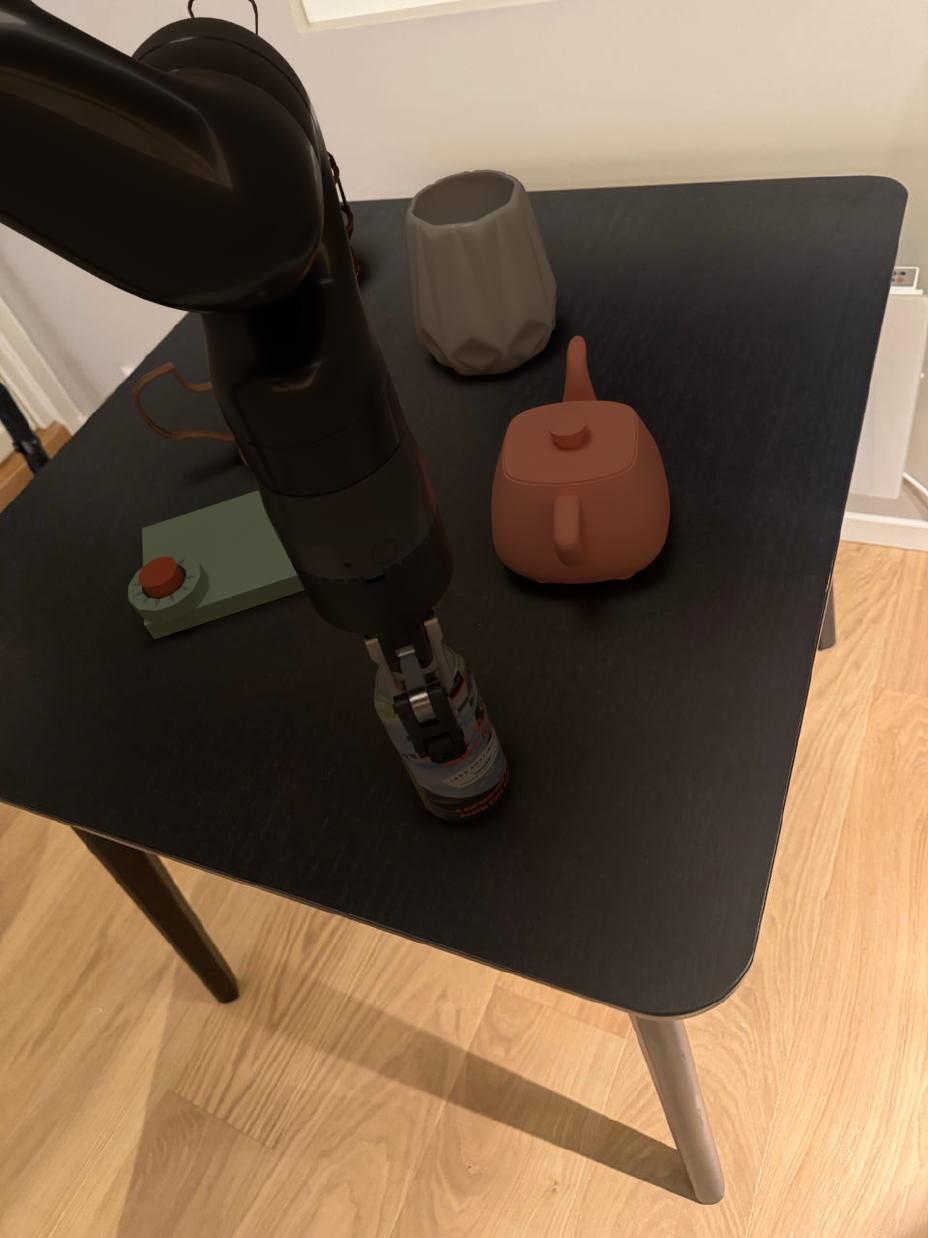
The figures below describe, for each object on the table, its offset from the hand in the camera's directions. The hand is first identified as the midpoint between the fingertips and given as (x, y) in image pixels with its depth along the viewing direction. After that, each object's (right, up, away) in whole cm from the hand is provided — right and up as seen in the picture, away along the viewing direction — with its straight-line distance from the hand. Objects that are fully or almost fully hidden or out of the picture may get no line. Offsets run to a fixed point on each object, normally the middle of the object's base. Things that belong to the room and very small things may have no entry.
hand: (436, 709), depth 56 cm
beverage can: (+2, -5, +6) cm, 8 cm away
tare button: (-23, +8, +19) cm, 31 cm away
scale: (-18, +10, +24) cm, 32 cm away
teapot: (+11, +12, +18) cm, 24 cm away
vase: (+5, +33, +37) cm, 49 cm away
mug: (-17, +22, +33) cm, 43 cm away
